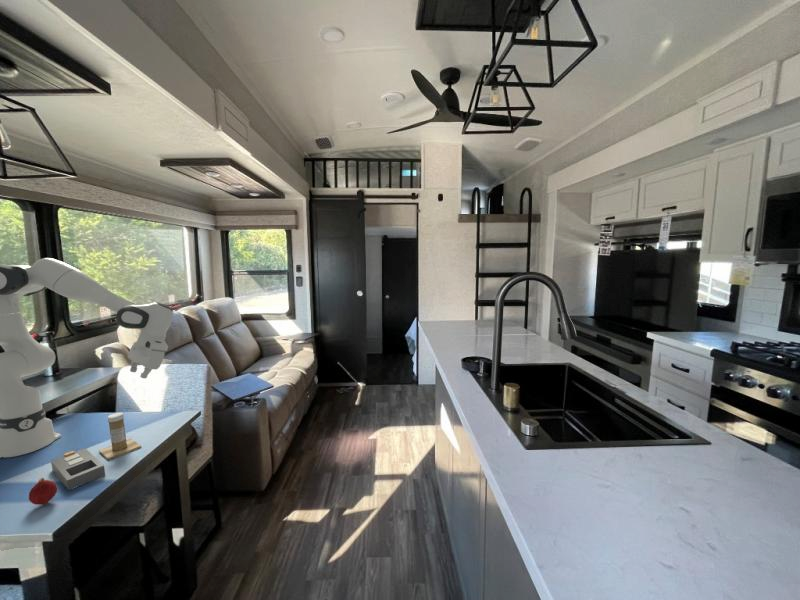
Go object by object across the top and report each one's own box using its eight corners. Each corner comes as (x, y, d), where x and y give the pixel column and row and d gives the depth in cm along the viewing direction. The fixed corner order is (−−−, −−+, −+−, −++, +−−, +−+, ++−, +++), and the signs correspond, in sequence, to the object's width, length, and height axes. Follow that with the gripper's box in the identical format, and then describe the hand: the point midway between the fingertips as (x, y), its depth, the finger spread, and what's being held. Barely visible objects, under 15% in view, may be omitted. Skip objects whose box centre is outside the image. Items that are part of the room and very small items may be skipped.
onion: (59, 503, 99) (55, 478, 98) (30, 514, 95) (26, 488, 94) (58, 494, 103) (54, 470, 102) (30, 504, 99) (26, 479, 98)
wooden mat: (99, 452, 126) (98, 450, 126) (131, 440, 134) (131, 438, 134) (108, 460, 121) (108, 458, 121) (141, 447, 129) (141, 445, 129)
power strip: (48, 464, 119) (46, 453, 119) (81, 452, 127) (80, 441, 126) (68, 490, 105) (66, 478, 104) (105, 475, 112) (103, 463, 112)
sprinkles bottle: (116, 445, 129) (111, 412, 127) (130, 444, 130) (125, 411, 128) (109, 452, 125) (104, 418, 123) (123, 450, 126) (118, 416, 124)
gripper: (130, 335, 141) (118, 367, 138) (153, 345, 130) (140, 381, 128) (147, 338, 146) (135, 369, 144) (170, 348, 135) (158, 381, 133)
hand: (137, 374), depth 136 cm, fingers open, 8 cm apart
